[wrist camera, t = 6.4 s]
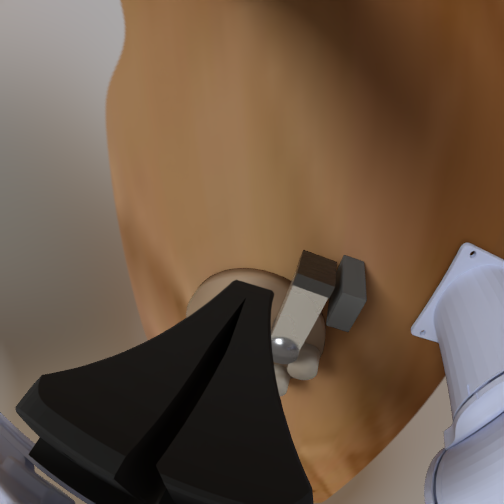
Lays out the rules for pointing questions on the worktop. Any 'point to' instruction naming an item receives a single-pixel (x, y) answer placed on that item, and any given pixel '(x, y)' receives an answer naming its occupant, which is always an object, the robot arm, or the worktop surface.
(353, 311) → the block
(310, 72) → the worktop surface
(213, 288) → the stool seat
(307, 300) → the hinged leg
